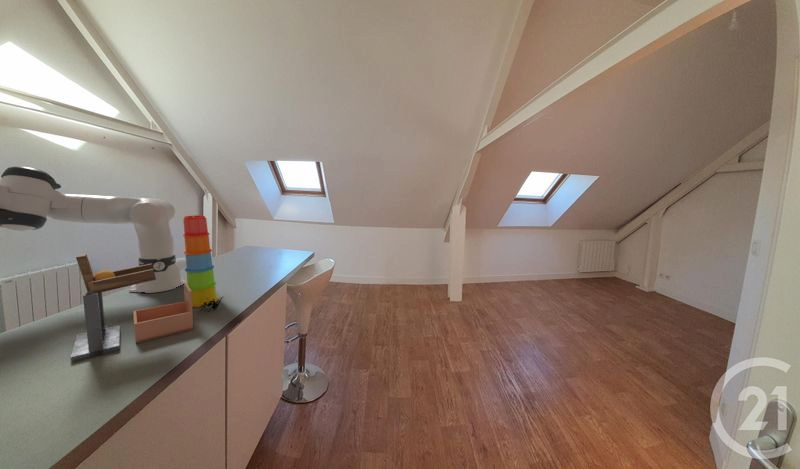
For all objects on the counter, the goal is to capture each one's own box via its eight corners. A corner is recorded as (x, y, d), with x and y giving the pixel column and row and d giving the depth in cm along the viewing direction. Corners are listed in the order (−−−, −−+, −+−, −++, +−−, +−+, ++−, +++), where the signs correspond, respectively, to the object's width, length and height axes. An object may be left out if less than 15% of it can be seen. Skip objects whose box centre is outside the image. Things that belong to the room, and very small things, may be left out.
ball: (95, 283, 74) (93, 270, 74) (116, 281, 77) (114, 267, 76) (94, 287, 71) (92, 273, 71) (115, 285, 74) (114, 271, 74)
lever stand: (78, 338, 77) (71, 282, 75) (120, 329, 83) (115, 277, 81) (71, 362, 67) (63, 298, 65) (119, 350, 73) (114, 291, 71)
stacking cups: (218, 304, 105) (215, 217, 100) (185, 309, 100) (180, 216, 95) (218, 295, 114) (215, 214, 109) (187, 299, 108) (183, 214, 103)
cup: (134, 328, 84) (131, 289, 82) (187, 317, 94) (185, 281, 92) (135, 343, 76) (132, 300, 75) (193, 329, 86) (191, 291, 84)
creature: (192, 315, 97) (209, 314, 96) (189, 301, 97) (206, 299, 95) (211, 307, 105) (227, 306, 103) (208, 294, 105) (225, 292, 103)
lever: (90, 288, 76) (78, 252, 73) (154, 274, 85) (145, 242, 83) (87, 300, 69) (73, 260, 66) (157, 283, 78) (147, 248, 76)
